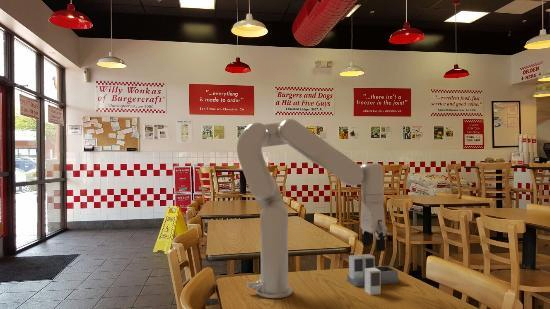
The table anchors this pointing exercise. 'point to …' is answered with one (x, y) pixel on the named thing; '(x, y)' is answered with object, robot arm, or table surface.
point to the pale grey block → (372, 281)
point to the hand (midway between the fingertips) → (373, 247)
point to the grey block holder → (368, 261)
